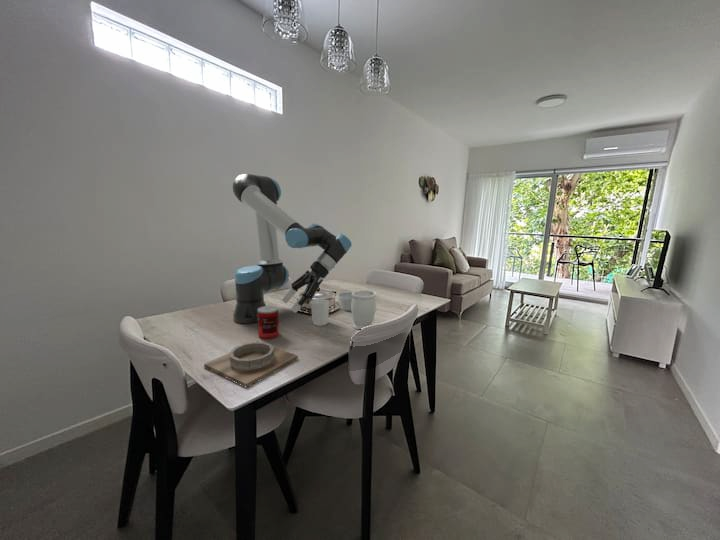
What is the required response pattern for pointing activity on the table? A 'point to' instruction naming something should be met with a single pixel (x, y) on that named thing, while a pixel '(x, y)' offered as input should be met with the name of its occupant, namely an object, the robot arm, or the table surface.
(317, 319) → the white cup
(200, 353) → the table surface
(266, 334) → the canned food
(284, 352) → the cup holder
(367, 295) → the jar
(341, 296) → the ramekin
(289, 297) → the robot arm
